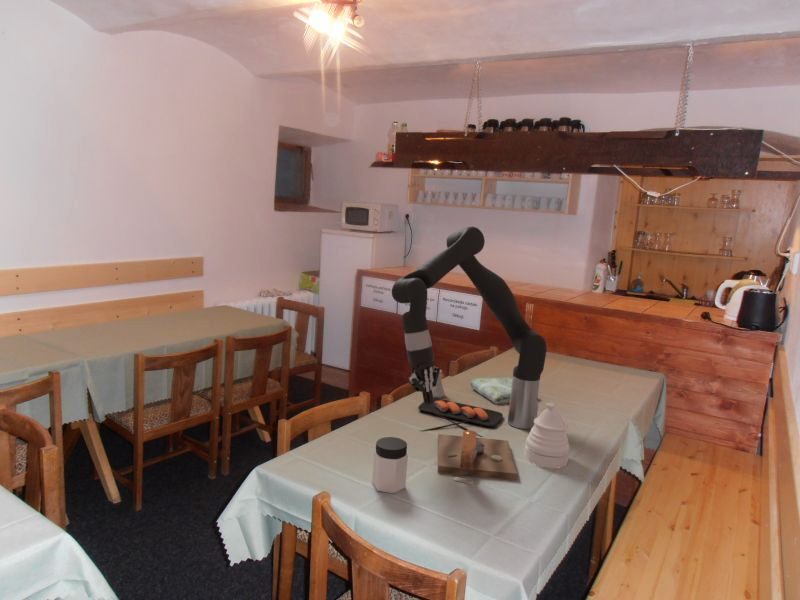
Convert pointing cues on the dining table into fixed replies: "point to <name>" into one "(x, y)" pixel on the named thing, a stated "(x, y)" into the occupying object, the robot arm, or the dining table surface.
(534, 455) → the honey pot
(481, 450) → the lever
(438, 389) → the flask
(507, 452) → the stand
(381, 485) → the jar
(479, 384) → the towel
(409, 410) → the dining table surface
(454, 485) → the dining table surface
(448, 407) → the sushi plate
